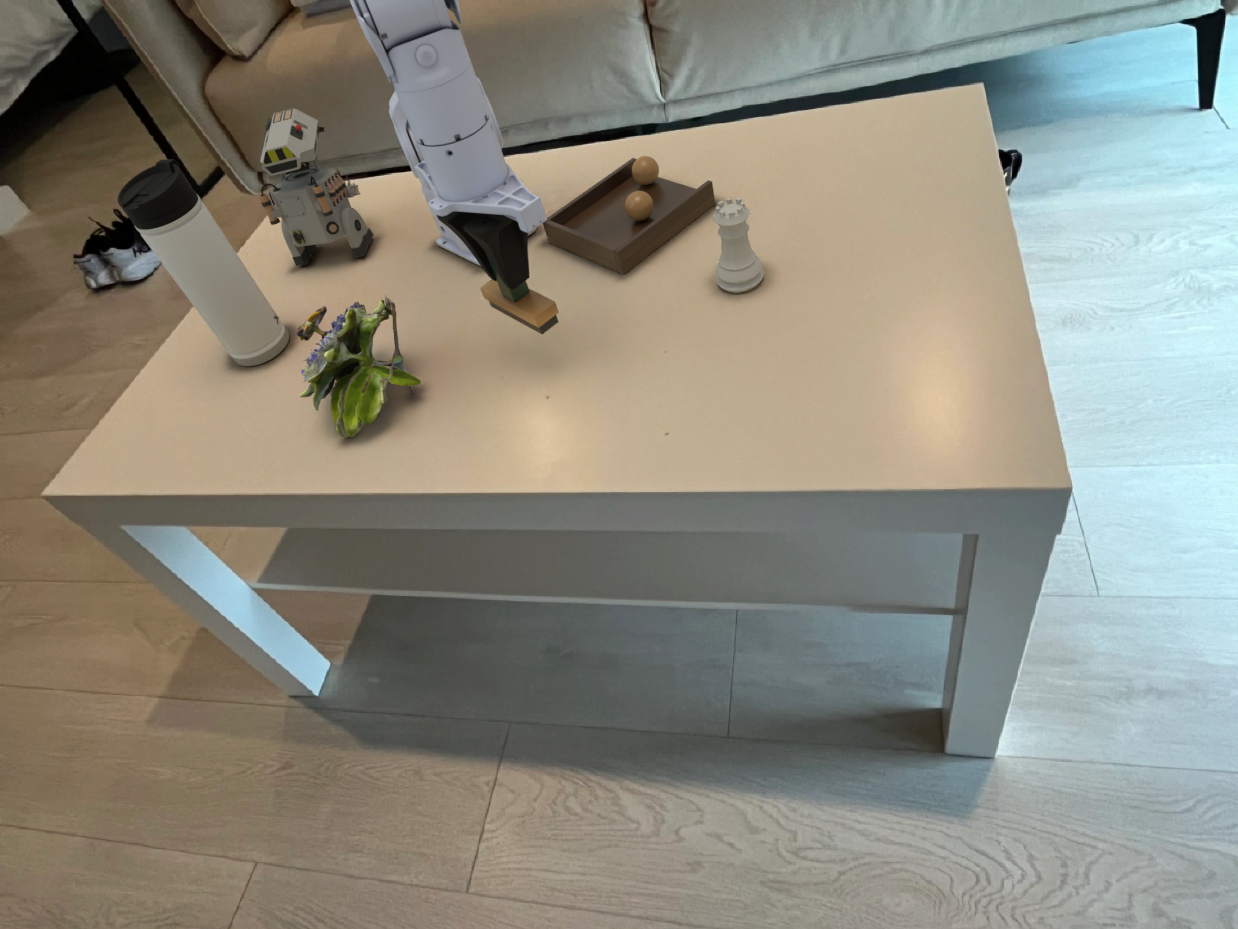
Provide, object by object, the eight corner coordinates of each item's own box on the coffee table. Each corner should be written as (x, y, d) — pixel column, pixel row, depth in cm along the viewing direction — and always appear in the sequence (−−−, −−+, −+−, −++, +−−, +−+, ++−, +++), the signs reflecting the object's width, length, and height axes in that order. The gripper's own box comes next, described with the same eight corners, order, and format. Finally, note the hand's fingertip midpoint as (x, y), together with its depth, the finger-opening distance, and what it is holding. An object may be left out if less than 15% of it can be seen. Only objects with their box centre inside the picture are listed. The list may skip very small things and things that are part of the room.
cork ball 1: (629, 186, 91) (623, 161, 89) (647, 173, 92) (642, 148, 90) (648, 192, 89) (642, 167, 87) (666, 179, 90) (661, 153, 88)
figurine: (388, 212, 102) (332, 94, 91) (360, 266, 94) (295, 144, 84) (324, 222, 104) (261, 108, 93) (291, 276, 97) (219, 158, 86)
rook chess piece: (762, 293, 75) (753, 217, 69) (713, 296, 76) (701, 221, 70) (766, 264, 78) (758, 188, 72) (719, 267, 79) (708, 193, 73)
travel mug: (303, 328, 88) (193, 156, 74) (268, 369, 85) (145, 196, 70) (259, 325, 91) (145, 158, 76) (223, 365, 87) (95, 198, 72)
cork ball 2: (622, 222, 86) (615, 196, 84) (641, 207, 87) (636, 182, 85) (642, 229, 84) (636, 203, 82) (661, 214, 85) (656, 188, 83)
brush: (487, 307, 75) (455, 229, 69) (507, 292, 75) (477, 215, 69) (541, 337, 70) (512, 257, 64) (562, 321, 71) (534, 240, 65)
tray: (548, 242, 89) (541, 221, 87) (637, 179, 94) (632, 157, 92) (623, 274, 82) (617, 252, 80) (715, 204, 87) (712, 180, 85)
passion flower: (374, 425, 83) (343, 307, 81) (461, 410, 79) (431, 285, 76) (291, 450, 73) (254, 317, 71) (385, 435, 69) (348, 292, 66)
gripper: (359, 133, 63) (427, 277, 73) (466, 175, 54) (527, 333, 64) (431, 91, 65) (488, 236, 75) (544, 125, 57) (591, 284, 67)
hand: (510, 278), depth 70 cm, fingers closed on brush, 2 cm apart
